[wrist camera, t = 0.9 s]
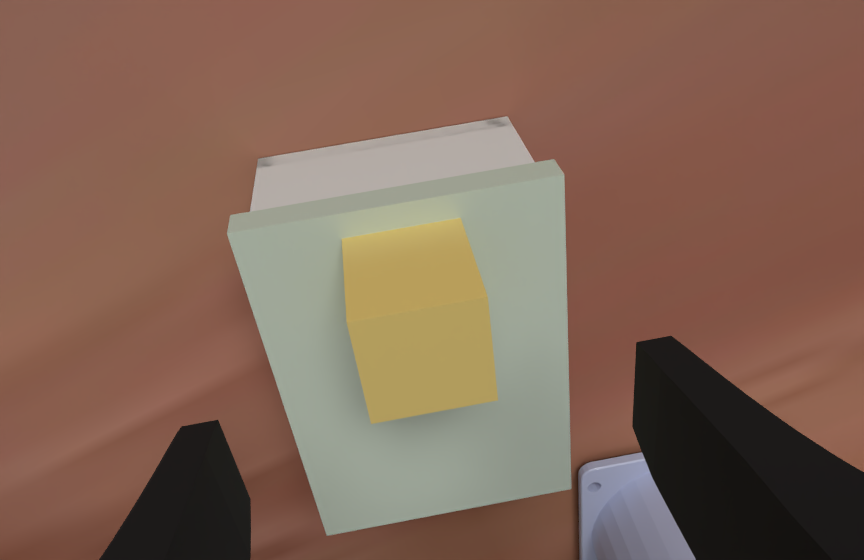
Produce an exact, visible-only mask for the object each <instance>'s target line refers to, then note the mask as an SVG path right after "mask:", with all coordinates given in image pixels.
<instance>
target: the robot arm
mask: <svg viewBox="0 0 864 560" xmlns="http://www.w3.org/2000/svg"><path fill="white" fill-rule="evenodd" d="M633 429H634V432H635V434H636V437H637V440H638V442H639V445H640V448H641V450H642V452H640V453H635V454H630V455H625V456H619V457H614V458H609V459H604V460H598V461H593V462H589V463H586V464H585V465H583V466H582V467H581V468H580V470H579V473H578V491H579V560H864V472H862V471H860V470H859V469H857V468H855V467H853V466H852V465H850V464H848V463H847V462H845V461H843V460H842V459H840V458H838V457H837V456H835V455H834V454H832V453H830V452H829V451H827V450H826V449H824V448H823V447H821V446H820V445H818V444H816V443H815V442H813V441H812V440H810V439H809V438H807V437H806V436H804V435H803V434H801V433H800V432H798V431H797V430H795V429H794V428H792V427H791V426H789V425H788V424H787V423H785V422H784V421H782V420H781V419H779V418H778V417H777V416H775V415H774V414H773V413H771V412H770V411H768V410H767V409H766V408H764V407H763V406H762V405H760V404H759V403H757V402H756V401H755V400H753V399H752V398H751V397H749V396H748V395H747V394H745V393H744V392H743V391H741V390H740V389H739V388H737V387H736V386H735V385H733V384H732V383H731V382H730V381H728V380H727V379H726V378H724V377H723V376H722V375H720V374H719V373H718V372H717V371H715V370H714V369H713V368H712V367H710V366H709V365H708V364H706V363H705V362H704V361H703V360H701V359H700V358H699V357H698V356H696V355H695V354H694V353H693V352H691V351H690V350H689V349H688V348H686V347H685V346H684V345H682V344H681V343H680V342H678V341H677V340H676V339H675V338H673V337H672V336H668V337H662V338H657V339H652V340H646V341H641V342H637V343H636V364H635V384H634V405H633ZM250 550H251V510H250V497H249V495H248V492H247V490H246V487H245V485H244V482H243V480H242V477H241V475H240V473H239V470H238V468H237V465H236V463H235V460H234V458H233V455H232V453H231V451H230V448H229V446H228V443H227V441H226V438H225V436H224V433H223V431H222V429H221V426H220V424H219V421H218V420H215V421H209V422H204V423H199V424H193V425H188V426H182V427H181V428H180V430H179V431H178V432H177V434H176V436H175V437H174V439H173V441H172V442H171V444H170V446H169V448H168V449H167V451H166V453H165V455H164V456H163V458H162V460H161V461H160V463H159V465H158V467H157V468H156V470H155V472H154V473H153V475H152V477H151V479H150V480H149V482H148V484H147V485H146V487H145V489H144V490H143V492H142V494H141V495H140V497H139V499H138V500H137V502H136V503H135V505H134V507H133V508H132V510H131V511H130V513H129V515H128V516H127V518H126V519H125V521H124V523H123V524H122V526H121V527H120V529H119V530H118V532H117V534H116V535H115V537H114V538H113V540H112V541H111V543H110V544H109V546H108V548H107V549H106V550H105V552H104V553H103V555H102V556H101V558H100V559H99V560H250Z"/></svg>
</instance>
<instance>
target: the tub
mask: <svg viewBox="0 0 864 560" xmlns="http://www.w3.org/2000/svg"><path fill="white" fill-rule="evenodd" d="M529 163H535V162H534V160H533V159H532V157H531V155H530V154H529V152H528V150H527V149H526V147H525V145H524V144H523V142H522V140H521V139H520V137H519V135H518V133H517V132H516V130H515V128H514V127H513V125H512V123H511V122H510V120H509V118H508V117H501V118H495V119H489V120H483V121H477V122H471V123H466V124H460V125H454V126H448V127H442V128H436V129H430V130H424V131H419V132H413V133H407V134H401V135H395V136H389V137H383V138H377V139H372V140H366V141H360V142H354V143H348V144H342V145H336V146H330V147H325V148H319V149H313V150H307V151H301V152H295V153H289V154H283V155H278V156H272V157H266V158H260V159H258V163H257V170H256V176H255V183H254V189H253V196H252V202H251V208H250V212H251V211H257V210H263V209H269V208H275V207H280V206H286V205H292V204H298V203H303V202H309V201H315V200H321V199H327V198H332V197H338V196H344V195H350V194H355V193H361V192H367V191H373V190H379V189H384V188H390V187H396V186H402V185H407V184H413V183H419V182H425V181H431V180H436V179H442V178H448V177H454V176H459V175H465V174H471V173H477V172H483V171H488V170H494V169H500V168H506V167H511V166H517V165H523V164H529Z"/></svg>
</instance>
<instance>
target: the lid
mask: <svg viewBox="0 0 864 560" xmlns="http://www.w3.org/2000/svg"><path fill="white" fill-rule="evenodd" d="M227 235H228V238H229V241H230V244H231V247H232V250H233V253H234V256H235V259H236V262H237V265H238V268H239V271H240V275H241V278H242V281H243V284H244V287H245V290H246V293H247V296H248V299H249V302H250V305H251V308H252V311H253V314H254V317H255V320H256V323H257V326H258V329H259V332H260V335H261V338H262V341H263V344H264V347H265V350H266V353H267V356H268V359H269V362H270V365H271V368H272V371H273V374H274V377H275V380H276V383H277V386H278V389H279V393H280V396H281V399H282V402H283V405H284V408H285V411H286V414H287V417H288V420H289V423H290V426H291V429H292V432H293V435H294V438H295V441H296V444H297V447H298V450H299V453H300V456H301V459H302V462H303V465H304V468H305V471H306V474H307V477H308V480H309V483H310V486H311V489H312V492H313V495H314V498H315V501H316V504H317V507H318V511H319V514H320V517H321V520H322V523H323V526H324V529H325V532H326V535H327V536H329V535H334V534H339V533H344V532H350V531H355V530H360V529H365V528H370V527H376V526H381V525H386V524H391V523H396V522H402V521H407V520H412V519H417V518H422V517H428V516H433V515H438V514H443V513H449V512H454V511H459V510H464V509H469V508H475V507H480V506H485V505H490V504H495V503H501V502H506V501H511V500H516V499H521V498H527V497H532V496H537V495H542V494H548V493H553V492H558V491H563V490H568V489H571V452H570V407H569V363H568V318H567V274H566V229H565V185H564V174H563V172H562V170H561V169H560V167H559V166H558V164H557V163H556V161H555V160H554V159H552V160H546V161H540V162H535V163H529V164H523V165H517V166H511V167H506V168H500V169H494V170H488V171H483V172H477V173H471V174H465V175H459V176H454V177H448V178H442V179H436V180H431V181H425V182H419V183H413V184H407V185H402V186H396V187H390V188H384V189H379V190H373V191H367V192H361V193H355V194H350V195H344V196H338V197H332V198H327V199H321V200H315V201H309V202H303V203H298V204H292V205H286V206H280V207H275V208H269V209H263V210H257V211H251V212H246V213H240V214H234V215H231V216H230V221H229V226H228V231H227Z"/></svg>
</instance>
